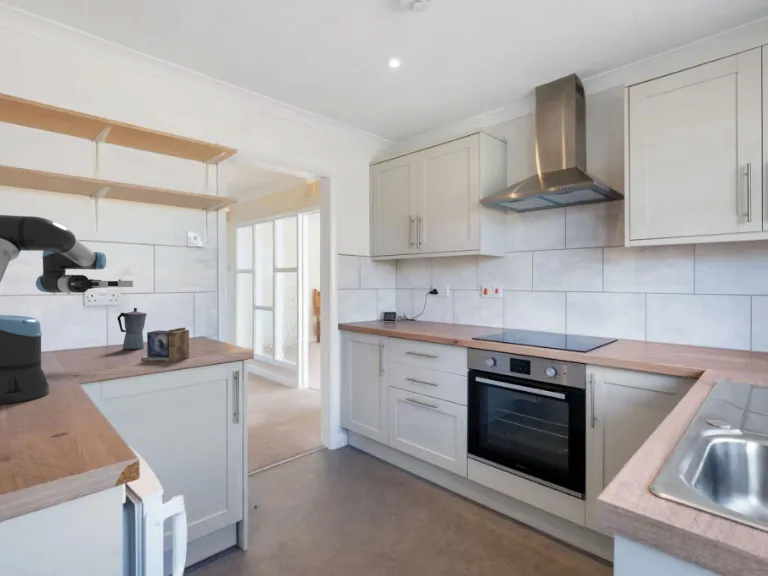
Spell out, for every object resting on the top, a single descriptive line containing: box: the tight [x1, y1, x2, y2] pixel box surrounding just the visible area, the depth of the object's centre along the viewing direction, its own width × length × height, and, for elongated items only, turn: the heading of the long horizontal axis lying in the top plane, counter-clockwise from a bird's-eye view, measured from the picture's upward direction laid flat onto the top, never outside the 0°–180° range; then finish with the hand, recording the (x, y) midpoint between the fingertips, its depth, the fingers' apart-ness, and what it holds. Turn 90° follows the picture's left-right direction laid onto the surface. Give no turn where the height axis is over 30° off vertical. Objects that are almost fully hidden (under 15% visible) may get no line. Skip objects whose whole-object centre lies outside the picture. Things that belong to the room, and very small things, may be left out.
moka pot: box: [116, 307, 148, 350], centre depth 201 cm, size 10×15×20 cm, turn 164°
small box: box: [146, 329, 169, 358], centre depth 176 cm, size 11×6×10 cm, turn 78°
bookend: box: [140, 326, 190, 363], centre depth 176 cm, size 10×16×13 cm, turn 82°
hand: (120, 284), depth 170 cm, fingers open, 13 cm apart
